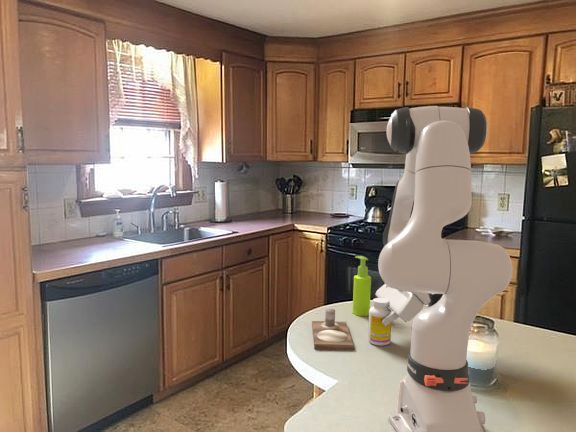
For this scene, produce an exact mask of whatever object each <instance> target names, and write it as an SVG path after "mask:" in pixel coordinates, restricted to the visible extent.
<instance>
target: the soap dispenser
mask: <svg viewBox="0 0 576 432" xmlns="http://www.w3.org/2000/svg"><path fill="white" fill-rule="evenodd" d="M354 258H355V259H359V260H360V265H358V266H357V275H354V276H353V290H352V293H353V294H352V295H353V296H352V314H353V315H355V316H359V317H367V316H369V310H370V308H371V292H372V291H371V287H372V276H370V275H368V274H369V273H368V272H369V268H368V266H367V265H366V261H369V258H367V257H366V256H363V255H355V256H354Z"/></svg>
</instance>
